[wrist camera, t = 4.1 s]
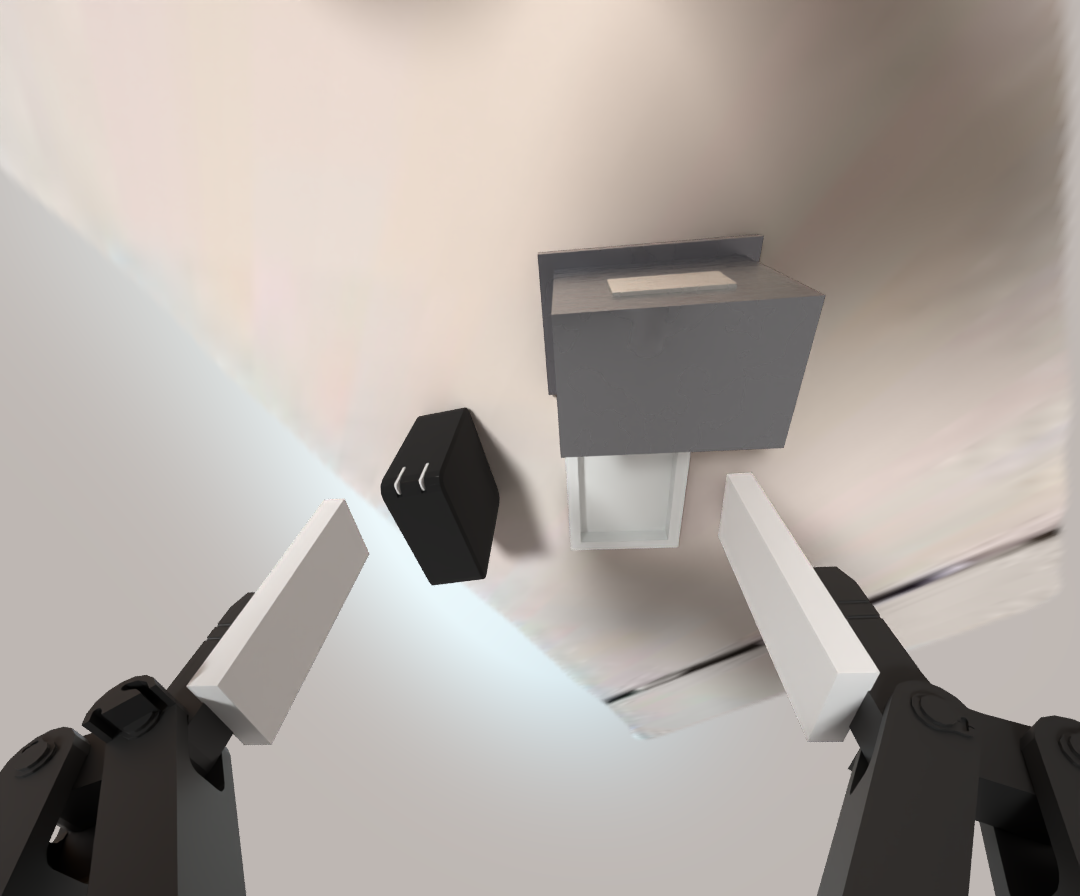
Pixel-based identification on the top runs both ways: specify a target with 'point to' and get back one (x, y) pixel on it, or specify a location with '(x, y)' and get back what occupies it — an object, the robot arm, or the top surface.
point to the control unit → (673, 346)
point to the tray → (626, 500)
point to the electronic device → (444, 497)
